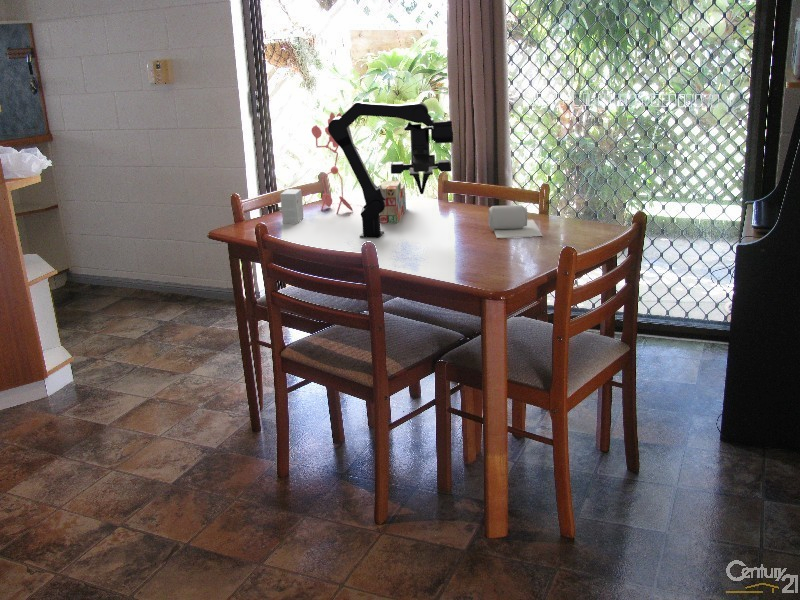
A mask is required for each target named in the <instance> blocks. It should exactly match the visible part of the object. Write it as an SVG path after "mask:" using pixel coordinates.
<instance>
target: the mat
mask: <svg viewBox="0 0 800 600" xmlns="http://www.w3.org/2000/svg"><path fill="white" fill-rule="evenodd" d="M493 232H494V234H495V237H496V239H497V238H507V239H515V238H514V237H530V236H542V237H543V233H541V230H540V229H539V226H538V225H537V224H536V222H535V221H534V219H527V226H524V227H523V228H522V229H494V230H493Z"/></svg>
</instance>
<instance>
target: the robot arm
mask: <svg viewBox="0 0 800 600" xmlns="http://www.w3.org/2000/svg"><path fill="white" fill-rule="evenodd" d="M341 115H342V116H341V117H336V116H335V118H334V119H333V120H332V121H331V122H330V123H329V125H328V126H327V127H328V131H329V134H330V135H331V136H332V138H333V139H334V140H335V142H336V143H337V144H338V145H339V146H338V147H340V149H341V150H342V152H343V154H344V156H345V158H346V159H347V162H348V164H349V165H350V167H351V170H352V173H354V175H355V177H356V180H357V181H358V183H359V185H360V187H361V190H362V193H363V199H364V201H365V205H364V206H363V207H361V208H362V209H361V211H360V216H361V221H362V223H361V224H362V233H361V234H360V235H359V238H366V239H367V238H370V239H379V238H380V237H381V236H383V234H385V231H381V223H380V216H379V213H381V212H382V211H383V210H384V208H385V204H386V194H385V193H384V192H383V190H382V187H381V184H379V185H378V186H377V185H376V184H375V183H374V181H373V179H372V177H371V176H370V173H369V172H368V171H369V170H367V167H366V165H365V164H364V161H363V159H362V158H361V156H360V154H359V152H358V151H359V150H358V149H357V148H356V147H357V146H356V145H355V144H354V141H353V137H352V131H351V129H350V126H351V125H352V124H353V123H354V122H355V121H356V120H357V119H358V118H360V117H361V116H364V117H366V116H367V117H368V116H369V117H382V118H383V117H384V118H398V119H401V120H405V121H407V122H408V123H407V124H406V125H405V126H404V131H409V132H410V152H411V153H410V154H411V159H410V161H411V163H408V164H407V163H405V164H404V161H392V162H391V163H390V174H392V175H396V174H402V173H403V172H404V171H408V172H409V176H410V177H411V176H412V177H413V179H414V180H415V183H416V184H417V187H418V191H419V193H420V195H424V193H425V189H426V184H427V181H428V179H429V177H430V176H432V175H434V170H439V171H440V172H442V173H444V172H452V162H451V160H449V159H437V162H436V156H435V155H436V154H430V151H431V150H430V139H431V141H433V142H434V144H453V143H454V130H453V121H452V120H450V119H449V120H444V121H443V120H442V121H441V120H439V121H435V120H434V118H433V117H432V116H431V115H430V114H429V109H428V106H427V105H426V104H425V103H424V102H422V101H415V102H413V101H412V102H408V103H407V102H406V103H401V104H397V103H396V104H393V103H379V102H364V101H356V102H354V103H353V104H352V105H351V107H350V108H348V110H346V111H345V112H344V113H343V114H341ZM422 124H423V125H425V126H422ZM430 133H431V134H430ZM430 135H431V136H430ZM430 137H431V138H430ZM355 146H356V147H355ZM421 172H422V180H421V176H420V173H421Z"/></svg>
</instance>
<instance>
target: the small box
mask: <svg viewBox="0 0 800 600" xmlns="http://www.w3.org/2000/svg"><path fill="white" fill-rule="evenodd" d="M302 193H303V192H302V189H301V188H299V189H297V188H293V189H291V188H290V189H289V188H287V189H285V190H284V191H283V192H281V193H280V197H279V198H280V206H281V217H282V224H283V223H287V224H292V223H296V224H299V223H300V222H301V221H302V220H303V219H304V218H303V217H304V206H303V194H302ZM302 218H303V219H302ZM301 219H302V220H301ZM300 220H301V221H300ZM299 221H300V222H299ZM298 222H299V223H298Z"/></svg>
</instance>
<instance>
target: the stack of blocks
mask: <svg viewBox="0 0 800 600" xmlns="http://www.w3.org/2000/svg"><path fill="white" fill-rule="evenodd" d="M380 185H381V187H382V190H383V192H384V193H385V194H386V204H385V208H384V210H383V211H382V212H381V213H379V216H380V224H398V222H399V221H400V220H401V218H402V216H403V214H404V213H405V212H406V209H407V205H406V204H407V203H406V200H407V198H406V186H405V184H404V183H403V184H402V181H401V180H391V181H390V180H388V181H387V180H385V181H383V182H382V183H381V184H380Z"/></svg>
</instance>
